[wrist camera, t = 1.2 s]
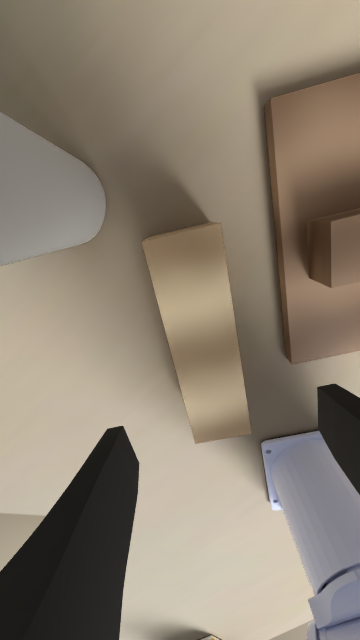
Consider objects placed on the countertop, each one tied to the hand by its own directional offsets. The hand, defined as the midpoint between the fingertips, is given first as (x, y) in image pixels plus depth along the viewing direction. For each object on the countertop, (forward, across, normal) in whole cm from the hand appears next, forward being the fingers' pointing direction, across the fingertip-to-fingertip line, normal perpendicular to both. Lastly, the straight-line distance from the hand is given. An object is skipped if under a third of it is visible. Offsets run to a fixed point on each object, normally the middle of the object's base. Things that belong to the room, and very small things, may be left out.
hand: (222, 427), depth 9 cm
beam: (+10, 0, 0) cm, 10 cm away
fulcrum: (+10, -12, -4) cm, 16 cm away
